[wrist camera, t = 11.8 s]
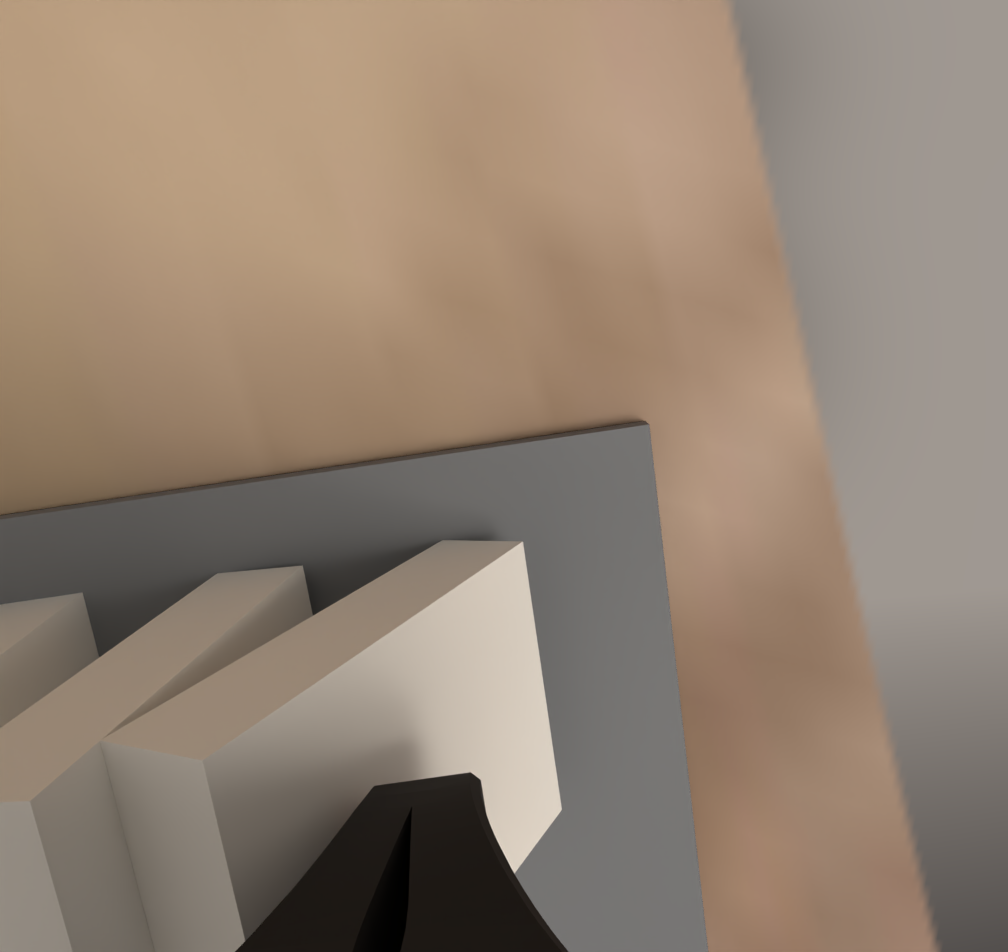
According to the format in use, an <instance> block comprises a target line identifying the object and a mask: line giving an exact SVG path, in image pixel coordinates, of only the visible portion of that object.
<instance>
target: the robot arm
mask: <svg viewBox="0 0 1008 952" xmlns="http://www.w3.org/2000/svg"><path fill="white" fill-rule="evenodd" d="M235 952H568V950H567V949H566V948H565V947H564V945H563V944H562V943H561V942H560V940H559V939H558V938H557V937H556V935H555V934H554V933H553V931H552V930H551V929H550V927H549V926H548V925H547V923H546V922H545V921H544V919H543V918H542V916H541V915H540V913H539V912H538V910H537V909H536V908H535V906H534V904H533V903H532V901H531V900H530V898H529V897H528V895H527V894H526V892H525V890H524V889H523V887H522V886H521V884H520V882H519V881H518V879H517V877H516V876H515V874H514V872H513V870H512V869H511V867H510V865H509V863H508V861H507V859H506V857H505V855H504V853H503V851H502V849H501V847H500V845H499V843H498V841H497V839H496V837H495V835H494V833H493V830H492V828H491V825H490V823H489V820H488V817H487V815H486V809H485V803H484V797H483V790H482V784H481V780H480V779H479V778H478V777H476V776H475V775H474V774H472V773H471V772H469V773H462V774H454V775H447V776H440V777H433V778H426V779H419V780H412V781H405V782H398V783H390V784H383V785H376V786H374V787H373V788H372V789H371V790H370V792H369V793H368V794H367V795H366V797H365V798H364V799H363V800H362V802H361V803H360V804H359V805H358V807H357V808H356V809H355V810H354V812H353V813H352V814H351V816H350V817H349V818H348V820H347V821H346V822H345V824H344V825H343V826H342V828H341V829H340V830H339V831H338V833H337V834H336V835H335V837H334V838H333V839H332V841H331V842H330V843H329V844H328V846H327V847H326V848H325V850H324V851H323V852H322V853H321V855H320V856H319V857H318V858H317V860H316V861H315V862H314V863H313V865H312V866H311V867H310V868H309V869H308V871H307V872H306V873H305V874H304V876H303V877H302V878H301V879H300V881H299V882H298V883H297V884H296V886H295V887H294V888H293V889H292V890H291V891H290V892H289V893H288V895H287V896H286V897H285V898H284V899H283V900H282V901H281V902H280V903H279V905H278V906H277V907H276V908H275V909H274V910H273V911H272V912H271V913H270V915H269V916H268V917H267V918H266V919H265V920H264V921H263V922H262V923H261V925H260V926H259V927H258V928H257V929H256V930H255V931H254V932H253V933H252V935H251V936H250V937H249V938H248V939H247V940H246V941H245V942H244V943H243V944H242V945H241V946H240V947H239V948H238V949H237V950H236V951H235Z"/></svg>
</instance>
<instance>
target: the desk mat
mask: <svg viewBox="0 0 1008 952" xmlns="http://www.w3.org/2000/svg"><path fill="white" fill-rule="evenodd" d="M442 540H466V541H523V546H524V553H525V560H526V566H527V573H528V580H529V587H530V594H531V601H532V608H533V615H534V621H535V628H536V635H537V642H538V649H539V656H540V663H541V669H542V676H543V683H544V690H545V697H546V704H547V711H548V718H549V724H550V731H551V738H552V745H553V752H554V759H555V766H556V772H557V779H558V786H559V793H560V800H561V807H562V810H561V812H560V813H559V814H558V816H557V817H556V818H555V820H554V821H553V822H552V824H551V825H550V826H549V828H548V829H547V830H546V832H545V833H544V834H543V836H542V837H541V838H540V840H539V841H538V843H537V844H536V845H535V847H534V848H533V849H532V851H531V852H530V853H529V855H528V856H527V857H526V859H525V860H524V861H523V863H522V864H521V865H520V867H519V868H518V869H517V871H516V872H515V873H514V874H515V876H516V877H517V879H518V881H519V882H520V884H521V886H522V887H523V889H524V890H525V892H526V894H527V895H528V897H529V898H530V900H531V901H532V903H533V904H534V906H535V908H536V909H537V910H538V912H539V913H540V915H541V916H542V918H543V919H544V921H545V922H546V923H547V925H548V926H549V927H550V929H551V930H552V931H553V933H554V934H555V935H556V937H557V938H558V939H559V940H560V942H561V943H562V944H563V945H564V947H565V948H566V949H567V950H568V952H708V946H707V937H706V928H705V919H704V910H703V901H702V892H701V883H700V874H699V865H698V856H697V848H696V839H695V830H694V821H693V812H692V803H691V794H690V785H689V776H688V767H687V758H686V749H685V740H684V731H683V722H682V713H681V705H680V696H679V687H678V678H677V669H676V660H675V651H674V642H673V633H672V624H671V615H670V606H669V597H668V588H667V579H666V571H665V562H664V553H663V544H662V535H661V526H660V517H659V508H658V499H657V490H656V481H655V472H654V463H653V454H652V445H651V436H650V428H649V424H648V423H647V422H646V421H642V422H635V423H628V424H621V425H615V426H608V427H601V428H594V429H587V430H580V431H574V432H567V433H560V434H553V435H546V436H539V437H533V438H526V439H519V440H512V441H505V442H498V443H492V444H485V445H478V446H471V447H464V448H458V449H451V450H444V451H437V452H430V453H423V454H417V455H410V456H403V457H396V458H389V459H382V460H376V461H369V462H362V463H355V464H348V465H341V466H335V467H328V468H321V469H314V470H307V471H301V472H294V473H287V474H280V475H273V476H266V477H260V478H253V479H246V480H239V481H232V482H225V483H219V484H212V485H205V486H198V487H191V488H184V489H178V490H171V491H164V492H157V493H150V494H144V495H137V496H130V497H123V498H116V499H109V500H103V501H96V502H89V503H82V504H75V505H68V506H62V507H55V508H48V509H41V510H34V511H27V512H21V513H14V514H7V515H0V605H1V604H8V603H14V602H21V601H28V600H35V599H42V598H49V597H56V596H62V595H69V594H76V593H83V596H84V600H85V604H86V608H87V612H88V616H89V620H90V624H91V628H92V632H93V635H94V639H95V643H96V647H97V651H98V655H99V657H101V656H102V655H104V654H105V653H106V652H108V651H109V650H111V649H112V648H113V647H115V646H116V645H118V644H119V643H120V642H122V641H123V640H125V639H126V638H127V637H129V636H130V635H132V634H133V633H134V632H136V631H137V630H139V629H140V628H141V627H143V626H144V625H146V624H147V623H148V622H150V621H151V620H153V619H154V618H155V617H157V616H158V615H160V614H161V613H162V612H164V611H165V610H167V609H168V608H169V607H171V606H172V605H174V604H175V603H176V602H178V601H179V600H181V599H182V598H183V597H185V596H186V595H188V594H189V593H190V592H192V591H193V590H195V589H196V588H197V587H199V586H200V585H202V584H203V583H204V582H206V581H207V580H209V579H210V578H211V577H213V576H214V575H216V574H217V573H226V572H237V571H248V570H259V569H270V568H281V567H292V566H303V569H304V574H305V579H306V584H307V589H308V594H309V599H310V604H311V609H312V614H313V615H315V614H317V613H319V612H320V611H322V610H324V609H325V608H327V607H329V606H331V605H332V604H334V603H336V602H337V601H339V600H341V599H343V598H344V597H346V596H348V595H349V594H351V593H353V592H355V591H356V590H358V589H360V588H361V587H363V586H365V585H367V584H368V583H370V582H372V581H373V580H375V579H377V578H378V577H380V576H382V575H384V574H385V573H387V572H389V571H390V570H392V569H394V568H396V567H397V566H399V565H401V564H402V563H404V562H406V561H408V560H409V559H411V558H413V557H414V556H416V555H418V554H420V553H421V552H423V551H425V550H426V549H428V548H430V547H432V546H433V545H435V544H437V543H438V542H440V541H442Z"/></svg>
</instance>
